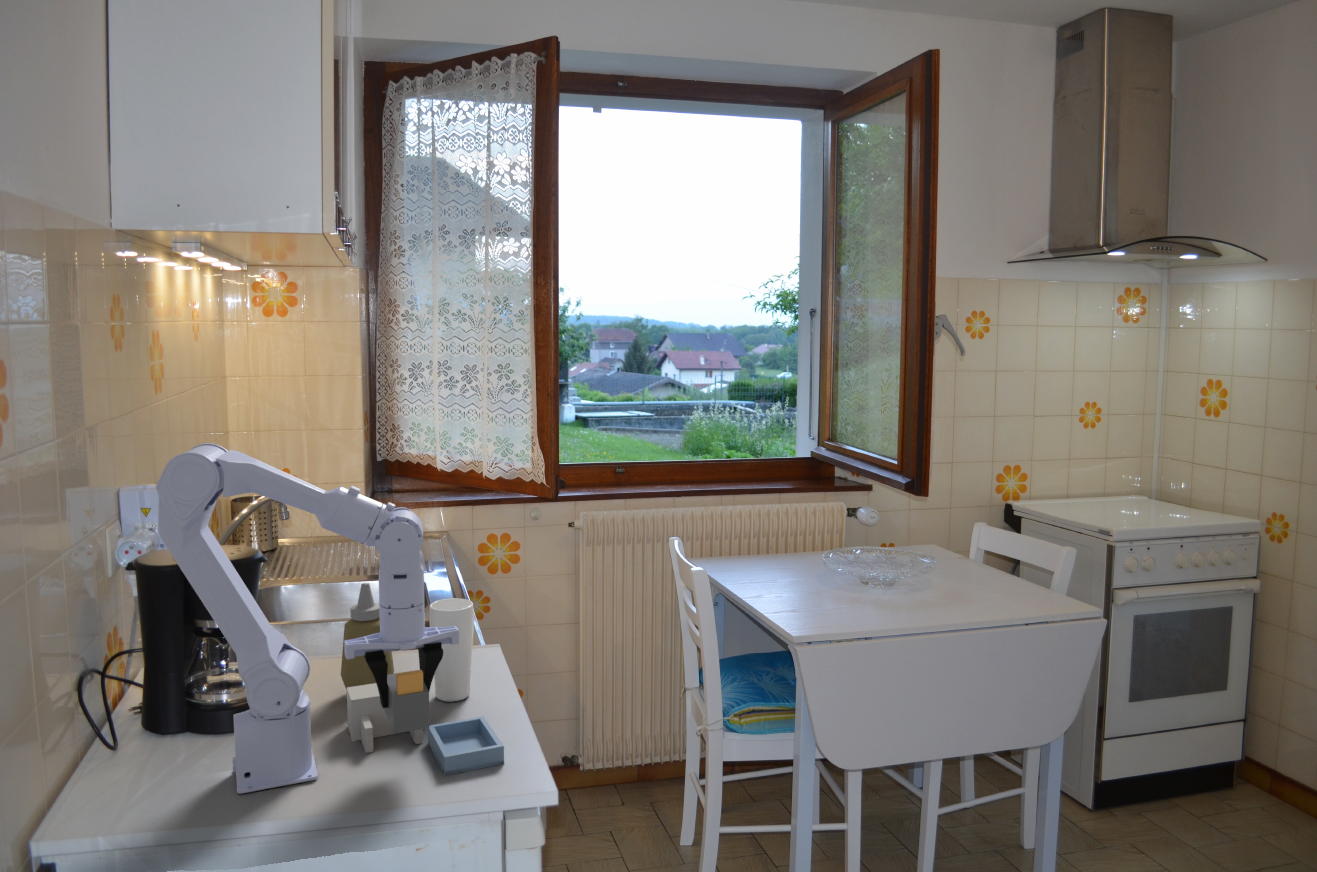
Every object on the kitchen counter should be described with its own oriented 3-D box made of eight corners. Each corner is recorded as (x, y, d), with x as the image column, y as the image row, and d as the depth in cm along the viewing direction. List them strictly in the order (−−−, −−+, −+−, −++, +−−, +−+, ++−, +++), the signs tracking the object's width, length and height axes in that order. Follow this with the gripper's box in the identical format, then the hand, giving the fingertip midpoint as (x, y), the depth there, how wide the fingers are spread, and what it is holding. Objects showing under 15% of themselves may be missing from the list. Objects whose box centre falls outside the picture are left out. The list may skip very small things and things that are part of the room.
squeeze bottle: (365, 709, 141) (362, 594, 139) (330, 697, 145) (326, 585, 143) (405, 691, 148) (403, 582, 146) (370, 681, 152) (368, 574, 150)
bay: (357, 754, 127) (355, 712, 126) (347, 727, 135) (346, 687, 134) (430, 741, 131) (430, 700, 130) (417, 715, 139) (416, 676, 139)
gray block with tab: (384, 709, 125) (383, 657, 123) (418, 704, 126) (417, 652, 125) (393, 733, 118) (392, 678, 117) (429, 727, 120) (428, 673, 119)
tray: (445, 775, 121) (444, 757, 121) (428, 742, 130) (427, 725, 130) (504, 763, 124) (503, 745, 124) (483, 732, 134) (483, 716, 133)
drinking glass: (464, 706, 143) (463, 612, 141) (423, 702, 144) (421, 608, 142) (481, 690, 149) (480, 599, 147) (441, 686, 151) (440, 596, 149)
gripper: (348, 618, 115) (351, 723, 117) (464, 604, 121) (465, 703, 123) (341, 602, 121) (344, 702, 123) (451, 590, 128) (453, 685, 129)
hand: (404, 701), depth 123 cm, fingers closed on gray block with tab, 4 cm apart
